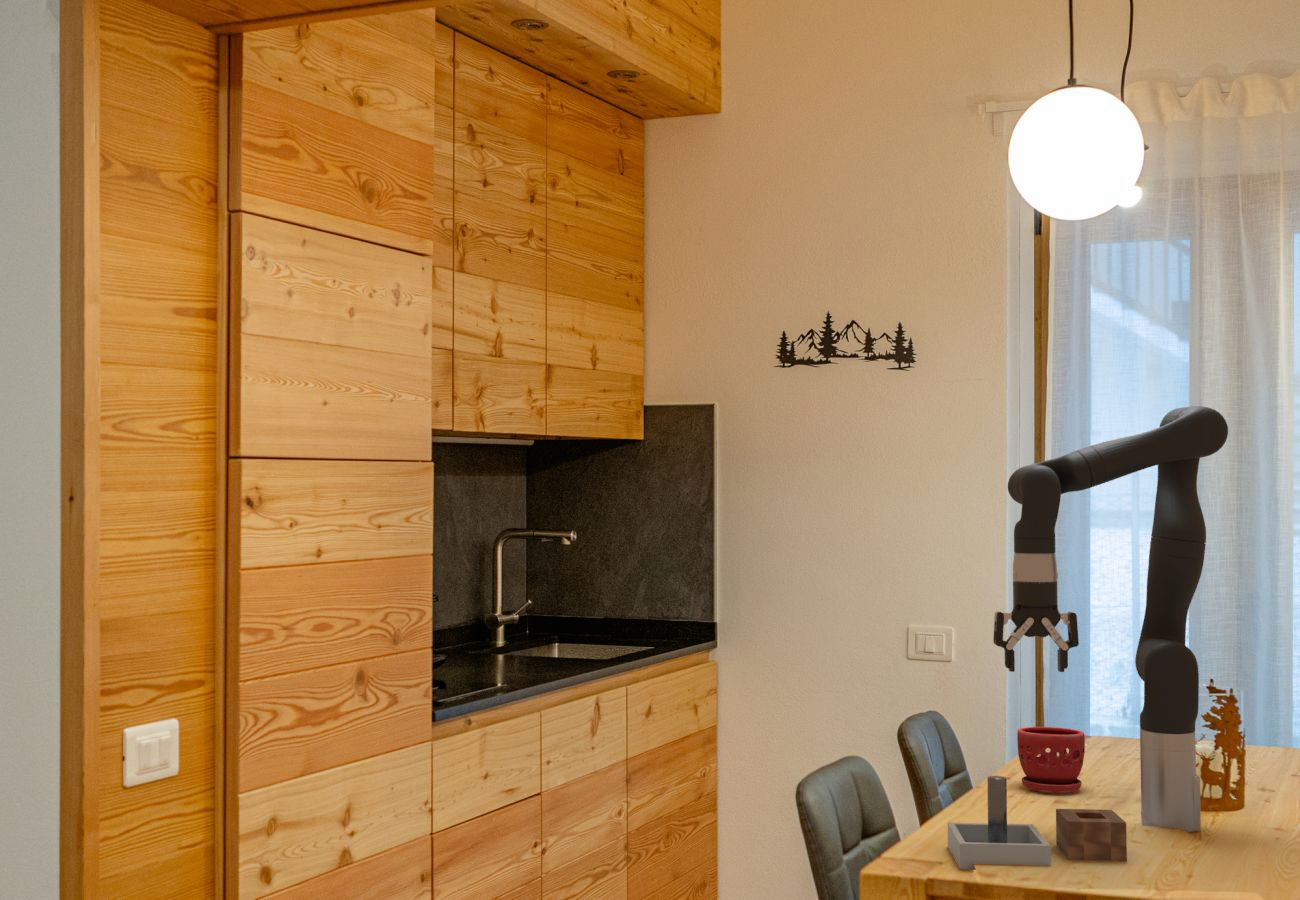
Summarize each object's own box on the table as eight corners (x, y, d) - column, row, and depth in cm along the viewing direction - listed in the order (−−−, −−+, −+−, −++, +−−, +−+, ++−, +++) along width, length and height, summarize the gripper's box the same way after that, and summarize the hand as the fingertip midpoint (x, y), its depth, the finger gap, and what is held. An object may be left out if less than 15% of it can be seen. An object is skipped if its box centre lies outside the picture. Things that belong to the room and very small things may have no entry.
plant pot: (1098, 794, 264) (1097, 733, 264) (1039, 798, 260) (1038, 736, 261) (1062, 781, 276) (1062, 723, 277) (1005, 784, 273) (1005, 725, 274)
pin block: (1112, 852, 219) (1111, 809, 219) (1126, 867, 210) (1126, 822, 210) (1056, 851, 220) (1055, 808, 220) (1068, 866, 211) (1068, 821, 211)
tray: (1033, 848, 222) (1032, 824, 222) (1050, 871, 208) (1050, 845, 208) (947, 846, 223) (947, 822, 223) (960, 869, 209) (959, 843, 209)
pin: (1005, 850, 217) (1004, 776, 217) (1008, 855, 214) (1008, 779, 214) (986, 849, 217) (986, 775, 217) (989, 854, 214) (989, 779, 214)
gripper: (1071, 578, 237) (1072, 669, 237) (990, 577, 239) (991, 668, 238) (1081, 580, 230) (1082, 674, 229) (997, 579, 231) (998, 673, 230)
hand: (1036, 671), depth 234 cm, fingers open, 8 cm apart
